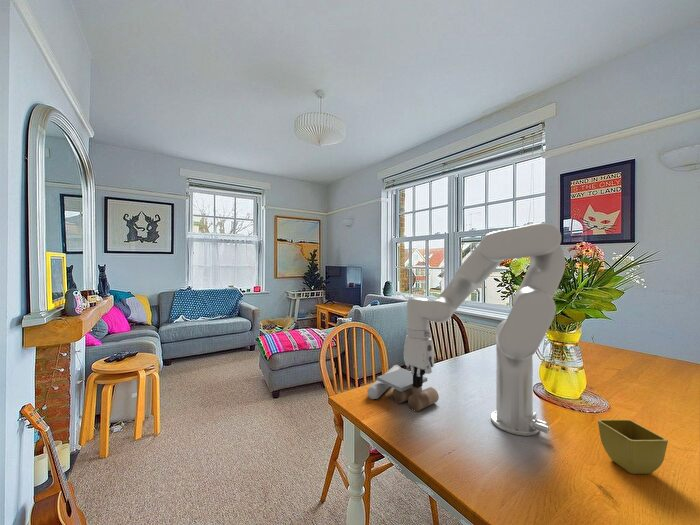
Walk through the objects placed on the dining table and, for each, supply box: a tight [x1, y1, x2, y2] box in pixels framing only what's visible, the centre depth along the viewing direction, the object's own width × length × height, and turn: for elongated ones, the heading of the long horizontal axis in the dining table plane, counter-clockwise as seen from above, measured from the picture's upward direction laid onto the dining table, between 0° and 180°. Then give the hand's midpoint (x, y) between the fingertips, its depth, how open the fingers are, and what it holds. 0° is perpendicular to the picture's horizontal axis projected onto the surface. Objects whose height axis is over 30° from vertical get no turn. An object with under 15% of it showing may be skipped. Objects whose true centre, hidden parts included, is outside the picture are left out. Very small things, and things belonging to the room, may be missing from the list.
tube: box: [367, 364, 402, 400], centre depth 112 cm, size 5×5×25 cm
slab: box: [376, 367, 428, 392], centre depth 105 cm, size 12×14×1 cm
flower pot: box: [597, 419, 669, 475], centre depth 68 cm, size 9×9×9 cm
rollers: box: [392, 385, 440, 412], centre depth 100 cm, size 12×10×5 cm
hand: (417, 386), depth 99 cm, fingers closed
